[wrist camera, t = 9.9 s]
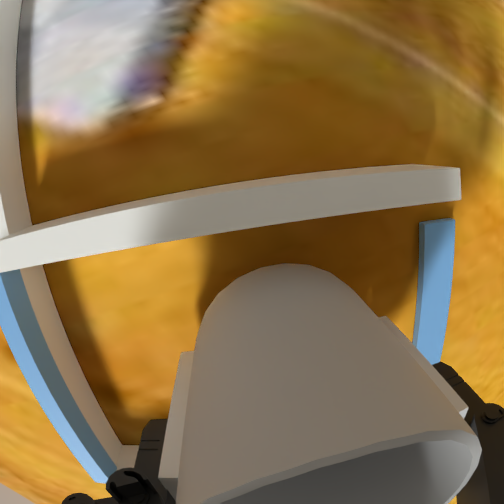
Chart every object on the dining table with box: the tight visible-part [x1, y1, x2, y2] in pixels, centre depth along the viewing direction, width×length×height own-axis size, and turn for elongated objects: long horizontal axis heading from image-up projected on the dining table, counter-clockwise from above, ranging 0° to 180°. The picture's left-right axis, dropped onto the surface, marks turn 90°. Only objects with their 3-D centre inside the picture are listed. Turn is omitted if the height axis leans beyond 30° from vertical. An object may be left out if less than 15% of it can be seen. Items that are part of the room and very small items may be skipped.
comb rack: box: [0, 0, 461, 483], centre depth 11 cm, size 30×21×4 cm
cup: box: [176, 263, 482, 504], centre depth 9 cm, size 7×10×9 cm
